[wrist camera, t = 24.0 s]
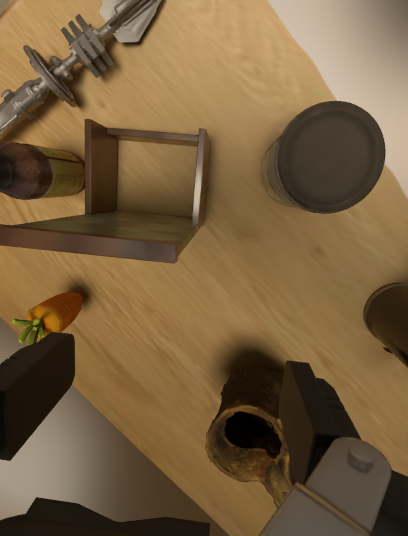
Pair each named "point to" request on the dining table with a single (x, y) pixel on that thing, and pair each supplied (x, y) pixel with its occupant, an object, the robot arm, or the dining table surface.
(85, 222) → the bottle rack
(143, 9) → the spaceship
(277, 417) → the pottery vessel
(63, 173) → the sauce bottle
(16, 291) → the dining table surface
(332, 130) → the coffee can
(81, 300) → the carrot
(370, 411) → the dining table surface
